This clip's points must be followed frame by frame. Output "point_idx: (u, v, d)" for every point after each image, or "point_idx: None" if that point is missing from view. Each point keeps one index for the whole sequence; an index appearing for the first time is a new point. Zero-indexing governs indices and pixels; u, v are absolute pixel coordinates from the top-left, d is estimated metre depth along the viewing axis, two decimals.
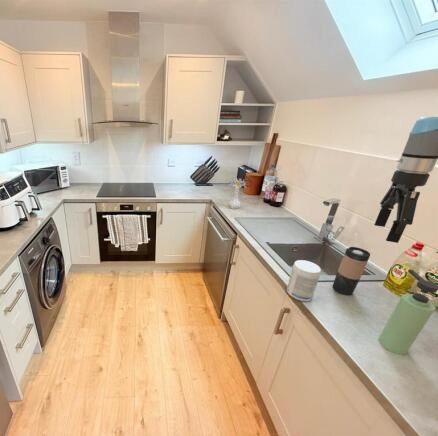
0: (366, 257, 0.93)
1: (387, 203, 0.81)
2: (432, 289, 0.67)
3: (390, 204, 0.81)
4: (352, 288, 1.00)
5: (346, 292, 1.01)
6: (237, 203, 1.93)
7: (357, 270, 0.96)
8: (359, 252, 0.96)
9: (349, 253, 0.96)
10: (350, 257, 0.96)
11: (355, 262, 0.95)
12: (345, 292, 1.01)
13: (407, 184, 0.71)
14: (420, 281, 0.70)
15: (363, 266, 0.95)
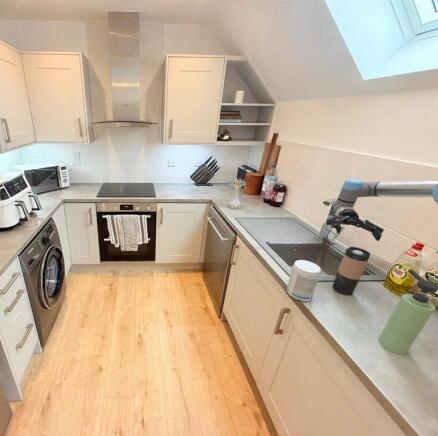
0: (366, 257, 0.93)
1: (367, 229, 1.06)
2: (432, 289, 0.67)
3: (369, 228, 1.06)
4: (352, 288, 1.00)
5: (346, 292, 1.01)
6: (237, 203, 1.93)
7: (357, 270, 0.96)
8: (359, 252, 0.96)
9: (349, 253, 0.96)
10: (350, 257, 0.96)
11: (355, 262, 0.95)
12: (345, 292, 1.01)
13: None
14: (420, 281, 0.70)
15: (363, 266, 0.95)
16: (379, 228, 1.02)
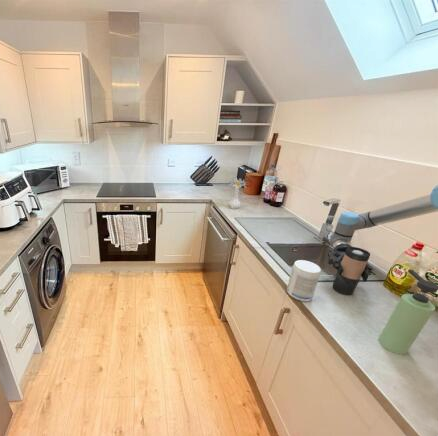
0: (366, 257, 0.93)
1: None
2: (432, 289, 0.67)
3: None
4: (352, 288, 1.00)
5: (346, 292, 1.01)
6: (237, 203, 1.93)
7: (357, 270, 0.96)
8: (359, 252, 0.96)
9: (349, 253, 0.96)
10: (350, 257, 0.96)
11: (355, 262, 0.95)
12: (345, 292, 1.01)
13: None
14: (420, 281, 0.70)
15: (363, 266, 0.95)
16: (367, 267, 0.98)
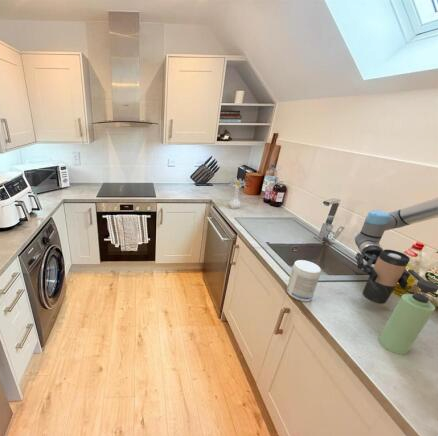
0: (406, 261, 0.82)
1: None
2: (432, 289, 0.67)
3: None
4: (387, 296, 0.89)
5: (379, 300, 0.90)
6: (237, 203, 1.93)
7: (394, 276, 0.85)
8: (396, 256, 0.85)
9: (385, 257, 0.85)
10: (386, 262, 0.85)
11: (392, 267, 0.84)
12: (378, 300, 0.90)
13: None
14: (420, 281, 0.70)
15: (401, 271, 0.84)
16: (404, 273, 0.87)
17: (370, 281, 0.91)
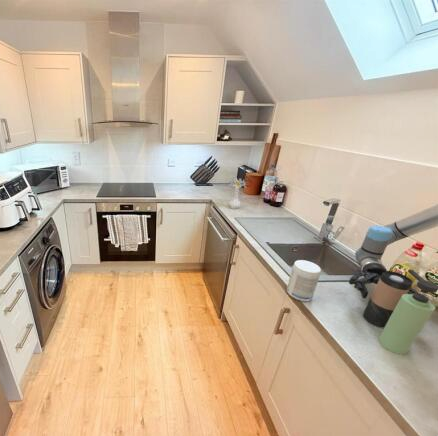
0: (408, 285, 0.78)
1: None
2: (432, 289, 0.67)
3: None
4: None
5: (381, 324, 0.85)
6: (237, 203, 1.93)
7: (396, 300, 0.80)
8: (398, 278, 0.81)
9: (387, 280, 0.81)
10: (387, 285, 0.81)
11: (394, 291, 0.80)
12: (380, 324, 0.85)
13: None
14: (420, 281, 0.70)
15: None
16: None
17: (371, 304, 0.86)
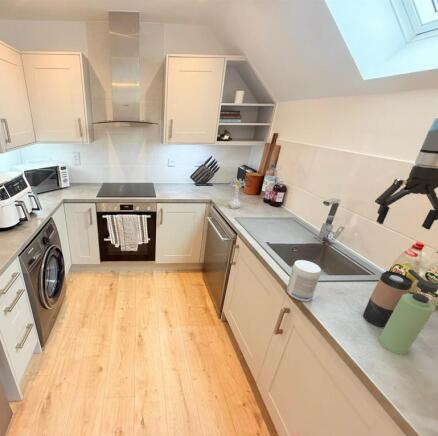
0: (408, 285, 0.78)
1: (431, 202, 0.81)
2: (432, 289, 0.67)
3: (433, 204, 0.80)
4: None
5: (381, 324, 0.85)
6: (237, 203, 1.93)
7: (396, 300, 0.80)
8: (398, 278, 0.81)
9: (386, 280, 0.81)
10: (387, 285, 0.81)
11: (394, 291, 0.80)
12: (380, 324, 0.85)
13: (409, 175, 0.80)
14: (420, 281, 0.70)
15: None
16: None
17: (371, 304, 0.86)
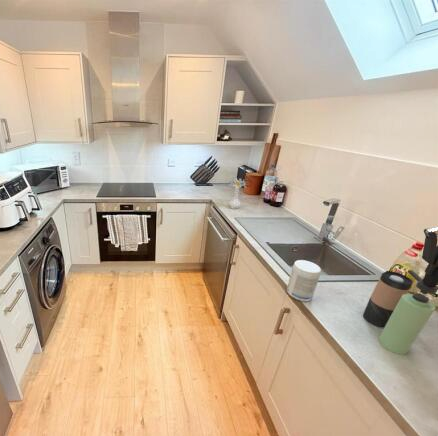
0: (408, 285, 0.78)
1: None
2: (432, 290, 0.68)
3: None
4: None
5: (381, 324, 0.85)
6: (237, 203, 1.93)
7: (396, 300, 0.80)
8: (398, 278, 0.81)
9: (386, 280, 0.81)
10: (387, 285, 0.81)
11: (394, 291, 0.80)
12: (380, 324, 0.85)
13: None
14: (420, 282, 0.70)
15: None
16: None
17: (371, 304, 0.86)
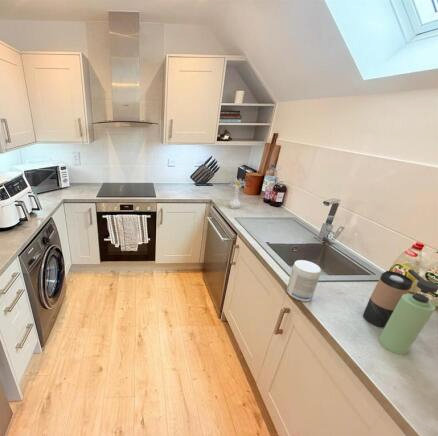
0: (408, 285, 0.78)
1: None
2: (432, 289, 0.67)
3: None
4: None
5: (381, 324, 0.85)
6: (237, 203, 1.93)
7: (396, 300, 0.80)
8: (398, 278, 0.81)
9: (386, 280, 0.81)
10: (387, 285, 0.81)
11: (394, 291, 0.80)
12: (380, 324, 0.85)
13: None
14: (420, 281, 0.70)
15: None
16: None
17: (371, 304, 0.86)
